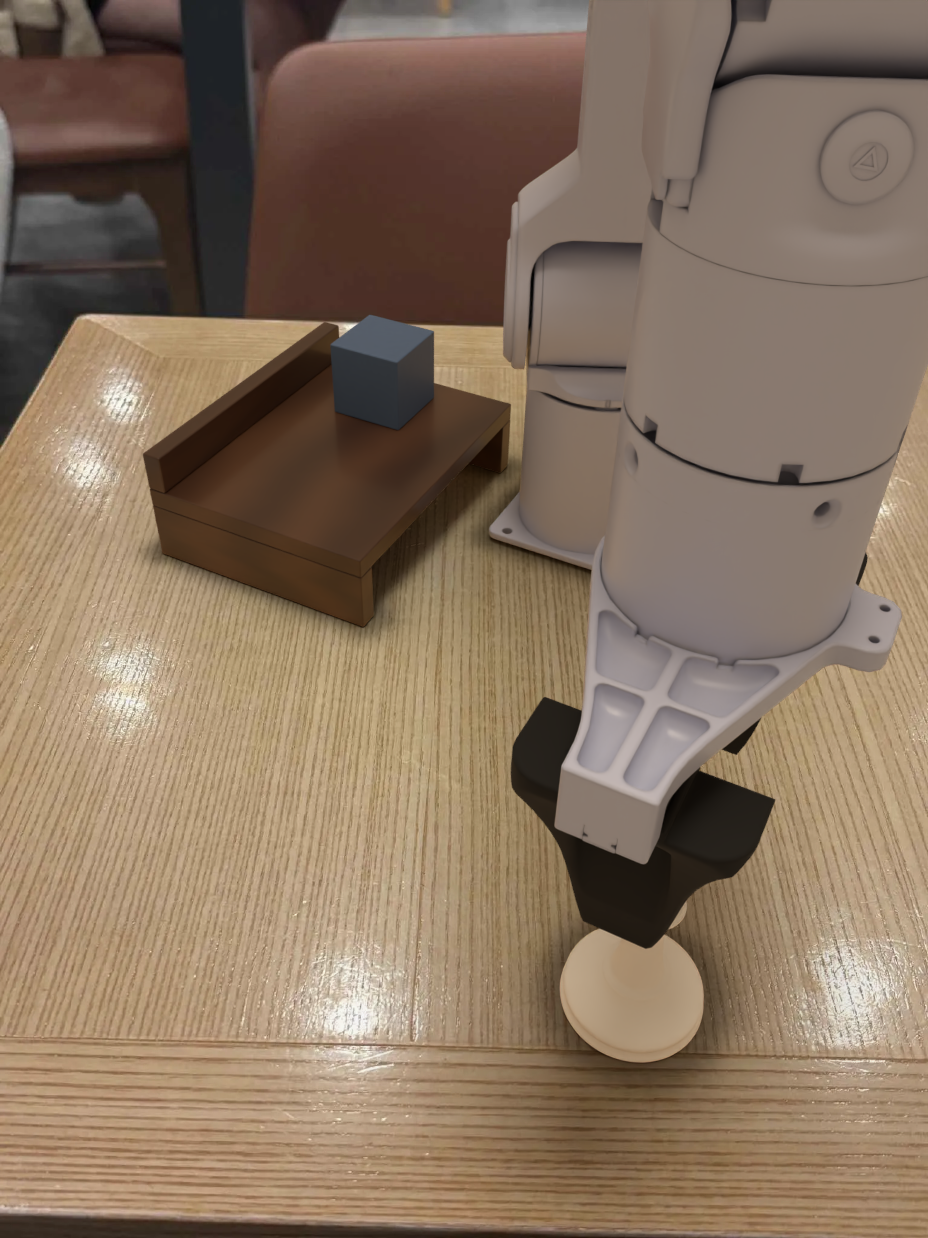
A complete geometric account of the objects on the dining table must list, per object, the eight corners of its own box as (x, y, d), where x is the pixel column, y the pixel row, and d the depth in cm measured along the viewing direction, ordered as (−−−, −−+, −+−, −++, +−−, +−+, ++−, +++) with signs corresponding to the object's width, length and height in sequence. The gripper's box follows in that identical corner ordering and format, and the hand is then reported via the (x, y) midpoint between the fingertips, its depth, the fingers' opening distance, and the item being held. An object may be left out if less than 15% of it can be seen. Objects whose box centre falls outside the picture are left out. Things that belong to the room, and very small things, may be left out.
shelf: (508, 465, 63) (513, 370, 59) (363, 627, 52) (358, 525, 48) (330, 412, 67) (324, 320, 63) (162, 553, 56) (141, 453, 52)
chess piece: (667, 1091, 35) (721, 912, 29) (533, 1014, 37) (556, 830, 31) (724, 975, 38) (785, 790, 32) (599, 910, 40) (632, 722, 34)
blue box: (434, 397, 60) (434, 330, 58) (398, 430, 58) (397, 362, 55) (372, 380, 62) (369, 313, 59) (334, 412, 59) (329, 343, 56)
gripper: (888, 691, 16) (727, 1108, 25) (1007, 315, 26) (861, 711, 35) (469, 553, 19) (457, 978, 28) (723, 255, 29) (653, 640, 37)
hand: (667, 823), depth 32 cm, fingers open, 7 cm apart
